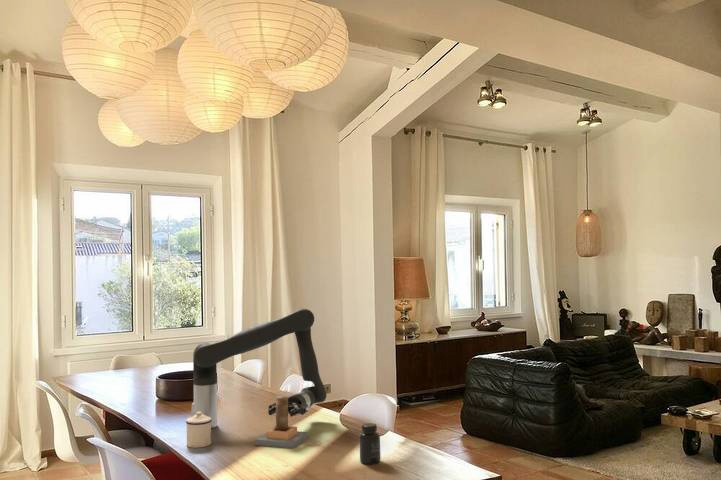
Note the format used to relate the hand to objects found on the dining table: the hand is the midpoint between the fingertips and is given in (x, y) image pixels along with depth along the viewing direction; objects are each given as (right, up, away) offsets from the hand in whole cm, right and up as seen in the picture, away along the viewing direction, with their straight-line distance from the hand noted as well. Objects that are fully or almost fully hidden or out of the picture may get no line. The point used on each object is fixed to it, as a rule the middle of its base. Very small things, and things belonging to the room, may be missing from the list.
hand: (280, 413), depth 226 cm
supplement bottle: (+33, -9, -24) cm, 41 cm away
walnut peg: (+1, -9, +1) cm, 9 cm away
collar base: (+1, -11, +1) cm, 11 cm away
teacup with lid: (-30, -11, -1) cm, 32 cm away
